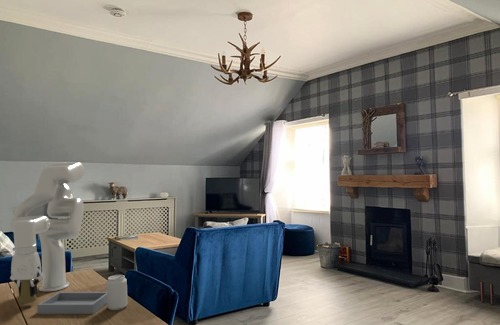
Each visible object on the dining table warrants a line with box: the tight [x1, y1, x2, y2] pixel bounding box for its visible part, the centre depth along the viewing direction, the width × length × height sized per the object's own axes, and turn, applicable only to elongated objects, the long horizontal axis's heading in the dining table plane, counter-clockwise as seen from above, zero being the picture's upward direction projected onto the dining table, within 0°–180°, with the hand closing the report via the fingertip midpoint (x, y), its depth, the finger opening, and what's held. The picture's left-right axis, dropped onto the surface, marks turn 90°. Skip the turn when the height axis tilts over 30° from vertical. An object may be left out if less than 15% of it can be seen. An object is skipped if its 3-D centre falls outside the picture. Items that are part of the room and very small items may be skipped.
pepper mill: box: [19, 280, 38, 305], centre depth 153 cm, size 6×6×11 cm
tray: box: [37, 291, 107, 315], centre depth 150 cm, size 22×14×4 cm, turn 85°
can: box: [105, 274, 128, 311], centre depth 148 cm, size 8×8×12 cm
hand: (28, 294), depth 153 cm, fingers closed on pepper mill, 4 cm apart
